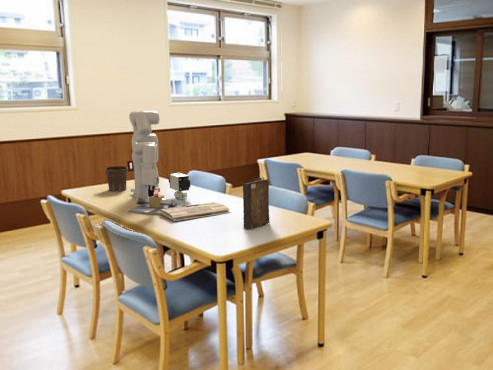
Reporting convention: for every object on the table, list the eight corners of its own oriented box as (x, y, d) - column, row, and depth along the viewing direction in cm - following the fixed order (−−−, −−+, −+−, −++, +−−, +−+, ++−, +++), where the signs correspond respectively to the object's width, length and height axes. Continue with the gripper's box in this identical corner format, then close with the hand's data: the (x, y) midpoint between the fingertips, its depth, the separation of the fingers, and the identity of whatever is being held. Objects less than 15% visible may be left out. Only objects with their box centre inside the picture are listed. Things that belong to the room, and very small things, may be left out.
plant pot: (125, 192, 343) (124, 169, 340) (103, 192, 343) (101, 169, 340) (131, 187, 359) (130, 166, 356) (109, 187, 359) (108, 166, 356)
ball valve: (192, 200, 319) (192, 173, 315) (181, 201, 314) (180, 174, 310) (179, 195, 333) (179, 169, 329) (168, 196, 328) (167, 171, 324)
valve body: (136, 206, 297) (135, 191, 295) (141, 204, 302) (140, 189, 300) (173, 209, 289) (172, 194, 287) (178, 207, 294) (177, 192, 292)
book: (248, 230, 251) (248, 183, 246) (239, 227, 256) (238, 181, 251) (270, 224, 262) (271, 178, 257) (261, 221, 267) (261, 177, 262)
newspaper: (214, 205, 302) (214, 200, 302) (230, 212, 287) (231, 208, 286) (159, 212, 282) (159, 208, 281) (174, 221, 266) (174, 216, 266)
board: (126, 212, 288) (126, 210, 288) (148, 203, 311) (148, 200, 311) (166, 216, 280) (165, 213, 279) (185, 206, 303) (185, 203, 302)
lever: (152, 190, 295) (152, 187, 295) (160, 190, 296) (159, 187, 296) (152, 196, 280) (152, 193, 279) (160, 196, 280) (160, 192, 280)
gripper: (135, 165, 280) (136, 196, 284) (156, 167, 273) (157, 199, 277) (143, 163, 287) (145, 193, 291) (164, 165, 280) (165, 196, 284)
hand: (151, 196), depth 284 cm, fingers closed
